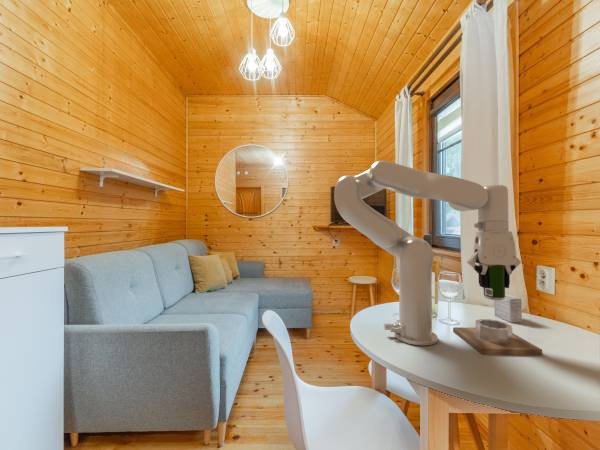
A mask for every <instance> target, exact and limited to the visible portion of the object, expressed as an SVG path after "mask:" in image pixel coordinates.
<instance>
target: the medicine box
mask: <svg viewBox="0 0 600 450" xmlns="http://www.w3.org/2000/svg"><path fill="white" fill-rule="evenodd" d="M522 312H523V311H522V298H520V297H517V296H513V295H510V294H509V293H505V298H504V300H494V317H497V318H499V319H501V320H504V321H506V322H509V323H511V324H512V323H515V324H516V323H517V324H518V323H522V322H523V318H522V316H523V313H522Z"/></svg>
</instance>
